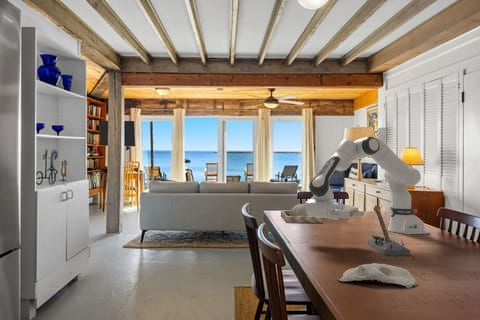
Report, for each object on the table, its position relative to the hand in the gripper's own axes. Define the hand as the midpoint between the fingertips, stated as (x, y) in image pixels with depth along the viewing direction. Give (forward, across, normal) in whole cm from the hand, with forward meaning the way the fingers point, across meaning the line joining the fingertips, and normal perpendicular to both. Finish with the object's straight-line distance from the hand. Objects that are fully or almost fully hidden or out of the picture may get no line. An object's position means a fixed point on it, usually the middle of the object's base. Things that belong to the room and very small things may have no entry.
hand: (363, 214), depth 178 cm
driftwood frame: (-55, +54, +17) cm, 79 cm away
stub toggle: (+19, 0, +13) cm, 23 cm away
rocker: (+6, +8, +12) cm, 16 cm away
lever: (+12, 0, +13) cm, 18 cm away
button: (+10, +10, +14) cm, 20 cm away
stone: (+15, -43, +18) cm, 49 cm away
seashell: (-54, +55, +17) cm, 79 cm away
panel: (+11, +4, +17) cm, 20 cm away
